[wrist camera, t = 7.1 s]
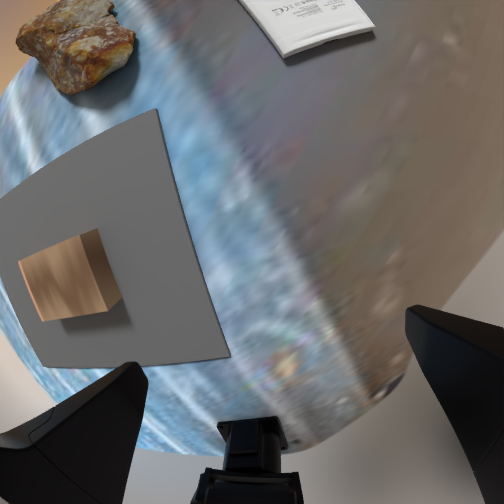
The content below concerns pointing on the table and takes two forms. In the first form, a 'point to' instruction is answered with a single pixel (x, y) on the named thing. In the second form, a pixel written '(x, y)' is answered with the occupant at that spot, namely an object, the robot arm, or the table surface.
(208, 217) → the table surface
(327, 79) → the table surface
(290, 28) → the external hard drive
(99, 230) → the rubber mat
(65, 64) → the decorative stone
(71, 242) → the walnut slab
